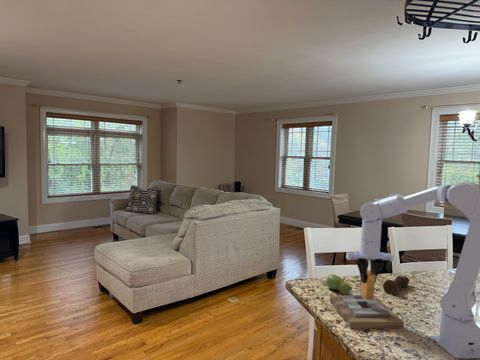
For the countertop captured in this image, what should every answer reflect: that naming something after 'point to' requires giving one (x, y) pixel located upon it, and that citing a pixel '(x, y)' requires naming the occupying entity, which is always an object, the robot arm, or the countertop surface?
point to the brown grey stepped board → (365, 312)
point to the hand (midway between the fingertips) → (367, 281)
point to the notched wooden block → (368, 286)
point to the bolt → (395, 284)
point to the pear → (338, 284)
